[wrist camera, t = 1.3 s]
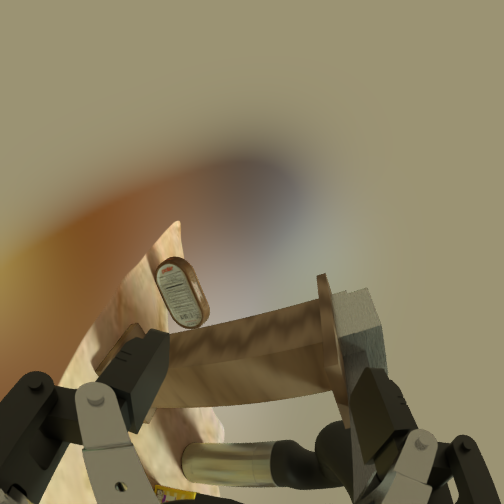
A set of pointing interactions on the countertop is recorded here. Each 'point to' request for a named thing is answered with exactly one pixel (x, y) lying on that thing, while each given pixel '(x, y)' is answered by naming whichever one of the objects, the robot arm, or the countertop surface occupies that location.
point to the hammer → (358, 359)
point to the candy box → (172, 494)
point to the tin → (182, 293)
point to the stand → (253, 359)
